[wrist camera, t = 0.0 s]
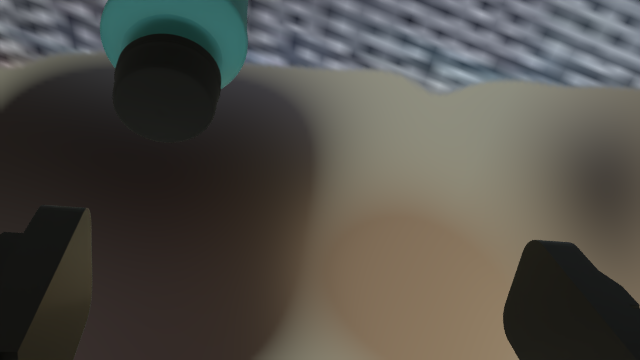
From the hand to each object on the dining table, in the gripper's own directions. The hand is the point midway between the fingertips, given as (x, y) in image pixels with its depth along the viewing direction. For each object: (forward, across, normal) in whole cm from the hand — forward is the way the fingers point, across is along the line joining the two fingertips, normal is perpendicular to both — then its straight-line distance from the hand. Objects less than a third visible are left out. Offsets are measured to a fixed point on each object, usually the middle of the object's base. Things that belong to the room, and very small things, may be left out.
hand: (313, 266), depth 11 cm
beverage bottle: (+32, +4, -5) cm, 33 cm away
